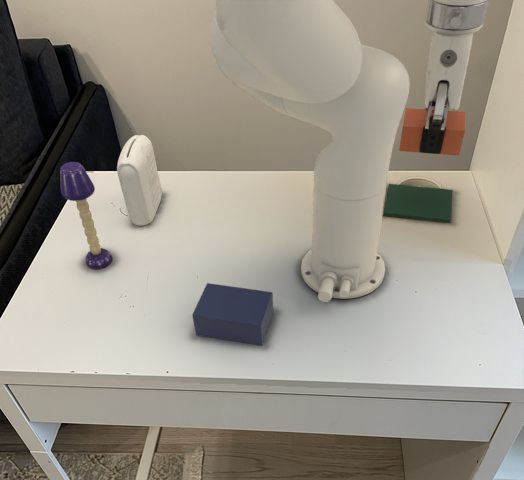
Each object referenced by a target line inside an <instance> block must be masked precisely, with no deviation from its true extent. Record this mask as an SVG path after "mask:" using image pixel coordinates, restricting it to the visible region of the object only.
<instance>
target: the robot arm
mask: <svg viewBox="0 0 524 480" xmlns="http://www.w3.org/2000/svg"><path fill="white" fill-rule="evenodd" d="M489 1H490V0H427V7H426V14H425V20H424V26H425V27H426V28H427V29H428V30H430V31H432V32H431V40H430V46H429V53H428V58H427V65H426V76H425V89H424V107H425V109H428V114H427V119H426V125H425V126H423V132H422V137H421V143H420V149H419V151H420V152H421V154H431V155H432V154H433V155H441V154H440V153H441V149H442V145H443V140H444V135H445V130H446V127H445V124H446V118H447V113H448V111H449V109H450V110H453V111H457V110H459V109H460V106H461V101H462V100H461V99H462V95H463V90H464V85H465V79H466V74H467V70H468V66H469V62H470V61H469V60H470V55H471V51H472V45H473V39H474V33H477V32H479V31H480V30H482V29H483V27H484V22H485V18H486V14H487V10H488V7H489ZM210 44H211V45H210V46H211V50H212V54H213V58H214V61H215V64H216V65H217V67H218V69H219V71H220V73H222V75H223V76H224V77H225V78H226V79H227V80H228V81H229V82H230V83H232V84H234V85H235V86H236V87H237V88H239V89H241V90H242V91H243V92H245V93H247V94H248V95H250V96H252V97H253V98H254V99H256V100H258V101H259V102H261V103H262V104H264V105H266V106H267V107H269V108H271V109H272V110H274V111H276V112H278V113H280V114H282V115H285V116H288V117H290V118H293V119H295V120H298V121H301V122H305V123H307V124H309V125H313V126H315V127H317V128H319V129H322V130H325V131H327V132H328V133H329V134H330V135H331V139H330V141H329V143H327V144H326V145H325V146H324V147H323V148H322V149H321V150H320V152H319V153H318V155H317V156H316V159H315V162H314V166H313V190H312V191H313V194H312V195H313V196H312V197H313V200H312V230H311V231H312V232H311V248H310V249H309V250H307V252H306V253H305V254H304V256H303V257H302V260H301V263H300V274H301V277H302V279H303V281H304V282H305V284H306V285H307V286H308V287H309V288H310V289H312V291H315V292H316V293H318V294H317V299H318V300H319V301H320V302H322V303H329V302H330V301H331V300H332V298H333V299H345V300H346V299H355V298H359V297H363V296H366V295H368V294H370V293H372V292H374V291H375V290H376V289H378V288H379V287H380V286H381V284H382V283H383V280H384V279H385V274H386V264H385V261H384V259H383V257H382V256H381V255H380V253H378V250H379V242H380V235H381V228H382V222H383V221H382V220H383V213H384V207H385V201H386V194H387V187H388V186H387V184H388V177H389V171H390V164H391V158H392V154H393V149H394V143H395V140H396V136H397V133H398V129H399V127H400V123H401V121H402V118H403V116H404V115H403V114H404V113H405V110H406V106H407V102H408V98H409V93H410V85H411V84H410V82H411V81H410V76H409V73H408V69H407V68H406V67H405V65H404V64H403V62H401V60H399V58H397V57H396V56H394V54H393V55H392V54H391V53H389V52H387V51H385V50H382V49H379V48H377V47H373V46H369V45H365V44H362V42H361V40H360V37H359V34H358V31H357V29H356V28H355V26H354V24H353V23H352V21H351V19H350V18H349V17H348V16H347V15H346V13H345V12H344V11H343V10H342V9H341V7H340V6H339V5H338V4H337V3H336V2H335V0H215V11H214V13H213V17H212V20H211V25H210ZM432 110H433V111H434V115H433V116H431V113H432Z"/></svg>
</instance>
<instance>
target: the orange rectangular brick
mask: <svg viewBox="0 0 524 480" xmlns="http://www.w3.org/2000/svg"><path fill="white" fill-rule="evenodd" d="M427 114H428V109H426V108H410V107H405V110H404V115H403V116H404V118H403V122H402V128H401V135H400V142H399V149H398V151H399V152H407V153H418V154H419V153H421V152H420V151H419V149H420V143H421V137H422V132H423V126H425V125H426V119H427ZM466 114H467V113H466V111H460V110H459V111H457V110H456V111H454V110H448V113H447V118H446V124H445V127H446V130H445V135H444V140H443V145H442V149H441V153H440V154H439V155H445V156H446V155H447V156H458V157H459V156H460V154H461V149H462V146H463V141H464V138H465V134H466V116H467V115H466ZM433 115H434V111H433V110H432V113H431V116H433ZM421 154H422V153H421Z"/></svg>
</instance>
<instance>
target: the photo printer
mask: <svg viewBox="0 0 524 480" xmlns="http://www.w3.org/2000/svg"><path fill="white" fill-rule="evenodd" d="M154 151H155V150H154V147H153V144H152V141H151V140H150V139H149V138H148V137H147V136H146V135H144V134H141V135H139V134H134V135H133V136H131V137H130V138H129V139H128V140H127V141H126V142H125V144H124V145H123V147H122V149H121V151H120V154H119V157H118V160H117V166H116V173H117V177H118V181H119V184H120V189H121V192H122V196H123V200H124V203H125V207H126V210H127V211H126V212H127V214H128V219H129V220H130V223H133V225H136V226H146V225H149V224H151V223H152V222H153V220H154V218H155V216H156V214H157V211H158V208H159V206H160V203H161V201H162V198H163V190H162V185H161V181H160V176H159V171H158V167H157V162H156V156H155V152H154Z"/></svg>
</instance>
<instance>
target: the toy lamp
mask: <svg viewBox="0 0 524 480" xmlns="http://www.w3.org/2000/svg"><path fill="white" fill-rule="evenodd" d="M59 174H60V175H59V176H60V194H61V196H62V197H63V199H65V200H68V201H71V202H75V204H76V209H77V211H78V215H79V218H80V219H81V225H82V228H83V230H84V235H85V237H86V242H87V244H88V248H89V251H88V252H87V254H86V255H85V265H86V267H88V268H89V269H92V270H101V269H104V268H107V267H108V266H110V265H111V263H113V260H114V259H113V255H112V254H111V252H110V251H109V250H108V249H106V248H104V247H101V245H100V241H99V237H98V235H97V234H98V233H97V228H96V227H95V221H94V219H93V215H92V212H91V210H90V204H89V202H88V201H87V200H88V198H91V196H93V195H94V193H95V190H96V188H95V184H94V183H93V181H92V179H91V178H90V176H89V174H88V173H87V170H86V169H85V168H84V165H82V164H81V163H80V162H77V161H70V162H69V161H68V162H66V163H64V164H63V165H62V166H61V167H60V172H59Z"/></svg>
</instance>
